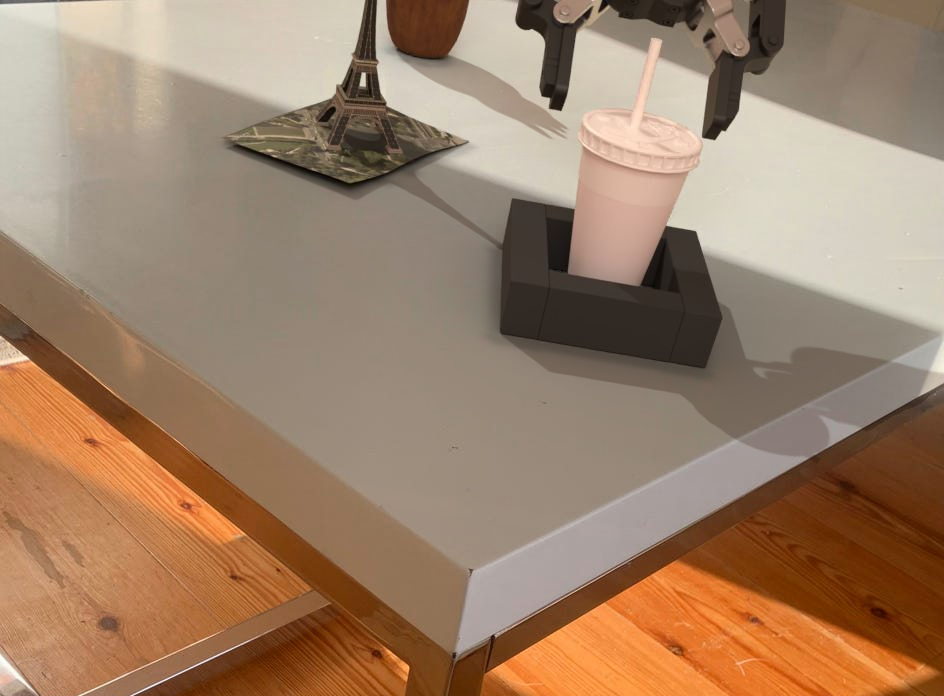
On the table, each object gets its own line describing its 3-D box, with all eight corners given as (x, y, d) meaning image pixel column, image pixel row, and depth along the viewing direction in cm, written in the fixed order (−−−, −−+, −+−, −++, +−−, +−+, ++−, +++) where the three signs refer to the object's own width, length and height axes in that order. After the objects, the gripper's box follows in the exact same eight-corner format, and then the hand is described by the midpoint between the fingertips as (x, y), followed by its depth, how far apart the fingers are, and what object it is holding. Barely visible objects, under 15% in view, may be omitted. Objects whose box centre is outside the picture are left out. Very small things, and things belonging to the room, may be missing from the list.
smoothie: (523, 276, 64) (580, 15, 55) (621, 275, 66) (690, 24, 58) (570, 332, 59) (639, 58, 51) (673, 329, 62) (756, 66, 53)
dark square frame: (681, 277, 68) (696, 230, 66) (705, 368, 59) (723, 317, 57) (502, 245, 67) (511, 197, 65) (499, 333, 58) (510, 280, 56)
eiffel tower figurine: (350, 98, 83) (370, -107, 74) (469, 141, 80) (504, -67, 71) (220, 143, 72) (227, -91, 63) (353, 195, 69) (379, -43, 60)
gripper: (558, -240, 57) (515, 56, 56) (825, -184, 59) (791, 108, 57) (535, -137, 65) (496, 128, 63) (772, -88, 66) (741, 173, 64)
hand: (636, 118), depth 60 cm, fingers open, 8 cm apart
